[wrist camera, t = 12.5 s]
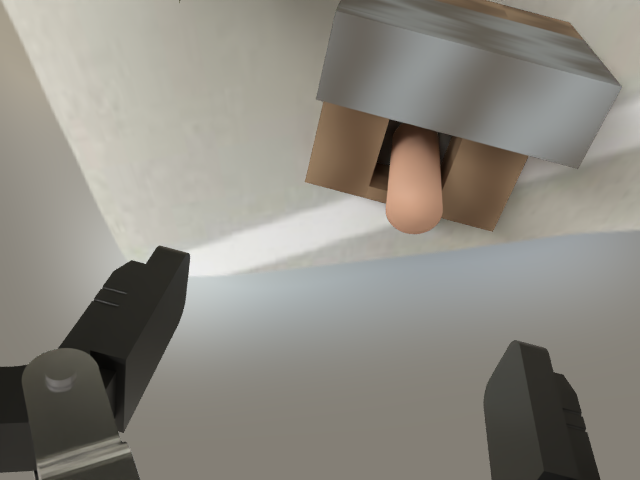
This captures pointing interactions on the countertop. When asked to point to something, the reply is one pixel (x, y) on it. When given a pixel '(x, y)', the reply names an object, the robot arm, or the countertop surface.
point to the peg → (414, 180)
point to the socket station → (456, 97)
